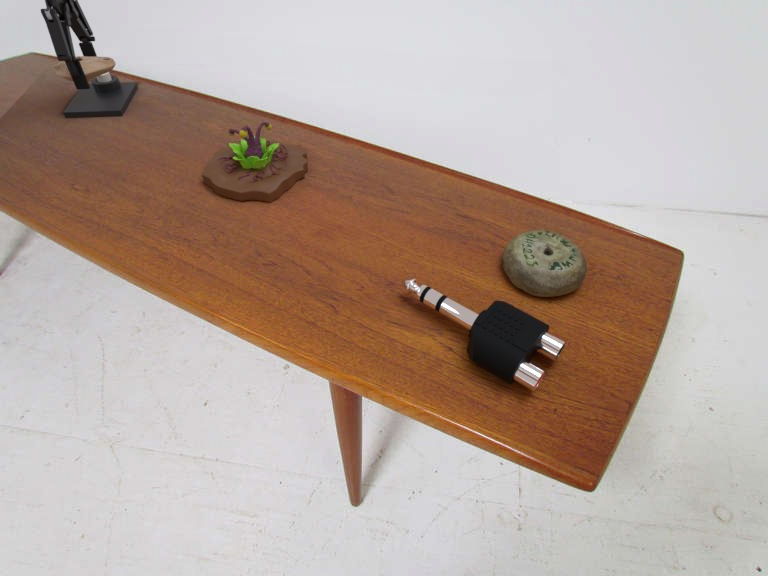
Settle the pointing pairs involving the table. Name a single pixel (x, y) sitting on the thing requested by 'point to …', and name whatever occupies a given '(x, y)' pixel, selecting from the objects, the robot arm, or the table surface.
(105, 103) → the scale
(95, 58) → the pottery oil lamp
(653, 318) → the table surface
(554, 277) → the weight
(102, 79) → the button
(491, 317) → the audio adapter
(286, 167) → the plant
